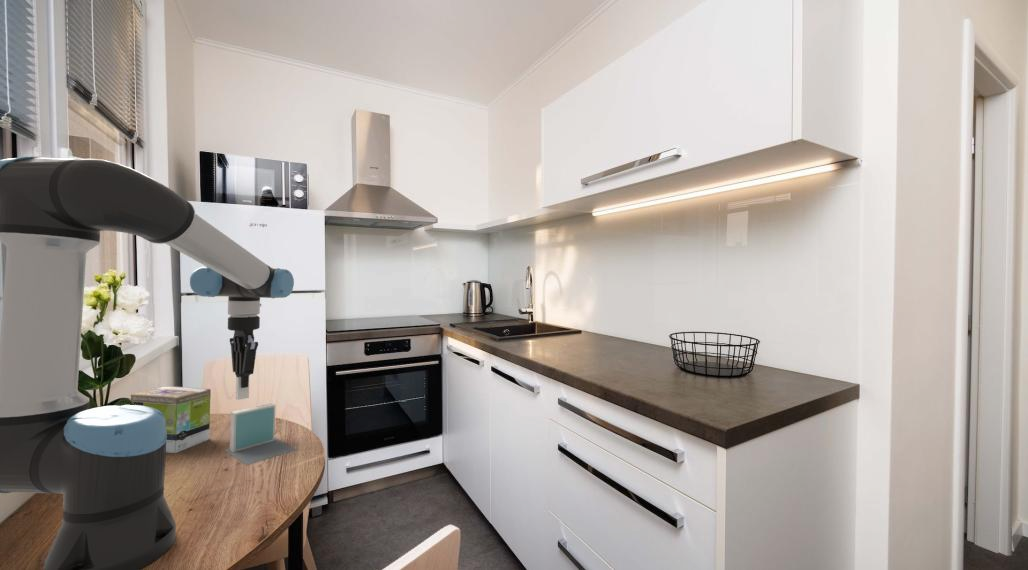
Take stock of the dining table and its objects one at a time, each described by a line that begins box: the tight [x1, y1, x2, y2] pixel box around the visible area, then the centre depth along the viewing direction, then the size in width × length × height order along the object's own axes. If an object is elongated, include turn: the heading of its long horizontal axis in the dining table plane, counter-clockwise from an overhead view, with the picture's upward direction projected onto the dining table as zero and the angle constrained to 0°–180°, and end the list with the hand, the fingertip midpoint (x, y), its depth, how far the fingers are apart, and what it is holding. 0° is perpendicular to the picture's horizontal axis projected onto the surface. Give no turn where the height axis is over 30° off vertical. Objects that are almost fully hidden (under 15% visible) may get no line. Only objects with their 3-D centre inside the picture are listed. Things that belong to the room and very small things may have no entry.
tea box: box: [130, 385, 212, 454], centre depth 108 cm, size 15×10×15 cm
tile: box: [229, 402, 276, 452], centre depth 108 cm, size 10×3×10 cm, turn 145°
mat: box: [223, 437, 298, 466], centre depth 105 cm, size 12×14×1 cm
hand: (242, 398), depth 113 cm, fingers closed
